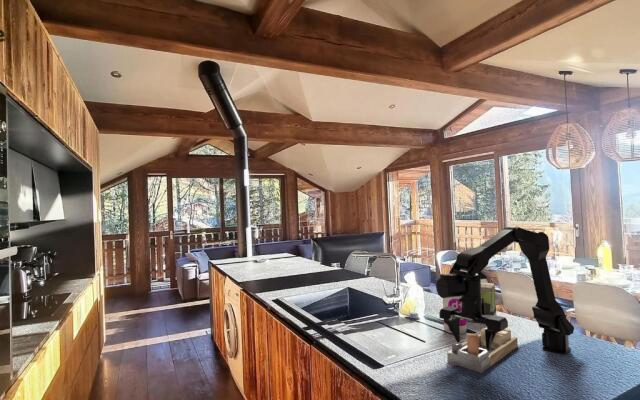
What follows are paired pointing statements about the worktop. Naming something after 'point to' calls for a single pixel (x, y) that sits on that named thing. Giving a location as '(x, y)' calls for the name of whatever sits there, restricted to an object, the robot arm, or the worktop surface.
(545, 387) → the worktop surface
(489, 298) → the tea box
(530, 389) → the worktop surface
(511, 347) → the bay
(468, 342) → the handle peg
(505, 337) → the cream wooden block
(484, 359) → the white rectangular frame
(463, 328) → the supplement can
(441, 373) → the worktop surface
